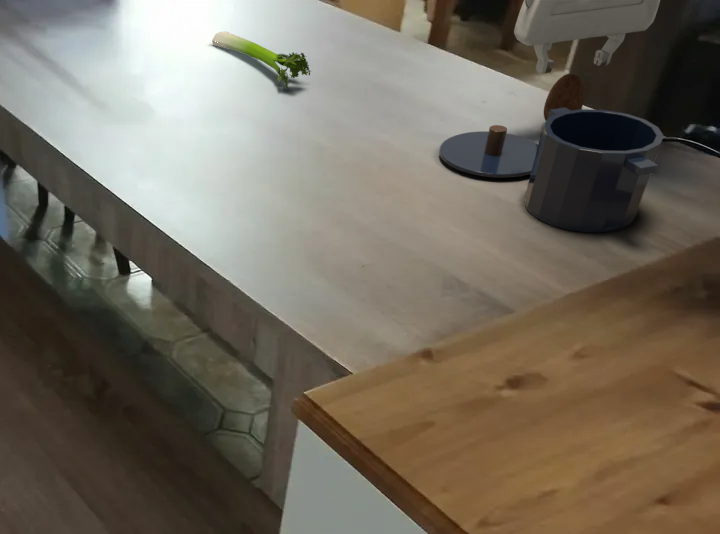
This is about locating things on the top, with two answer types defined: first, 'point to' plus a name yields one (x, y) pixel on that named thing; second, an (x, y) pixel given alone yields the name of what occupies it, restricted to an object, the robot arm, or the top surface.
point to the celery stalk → (264, 55)
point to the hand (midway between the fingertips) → (571, 68)
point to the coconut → (565, 94)
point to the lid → (490, 153)
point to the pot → (591, 169)
